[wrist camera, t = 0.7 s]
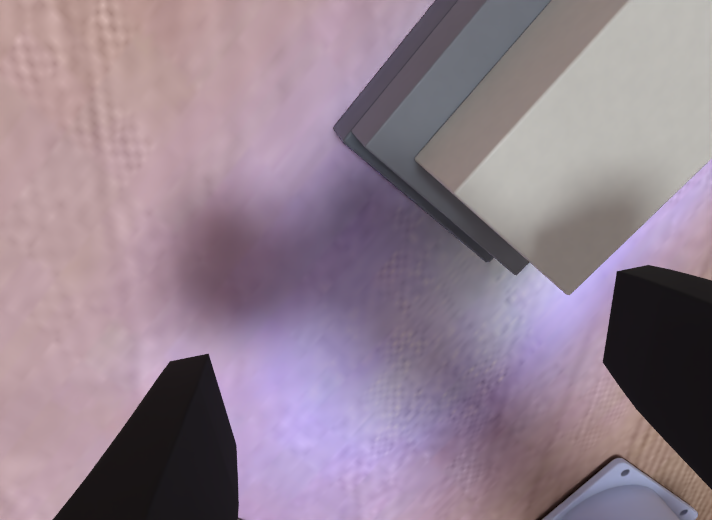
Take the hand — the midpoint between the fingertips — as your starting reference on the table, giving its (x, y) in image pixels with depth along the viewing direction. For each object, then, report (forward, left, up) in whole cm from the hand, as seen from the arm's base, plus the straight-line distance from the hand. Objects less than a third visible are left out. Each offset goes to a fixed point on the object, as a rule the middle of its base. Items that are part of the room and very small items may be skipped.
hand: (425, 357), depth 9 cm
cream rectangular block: (-2, -7, -6) cm, 9 cm away
